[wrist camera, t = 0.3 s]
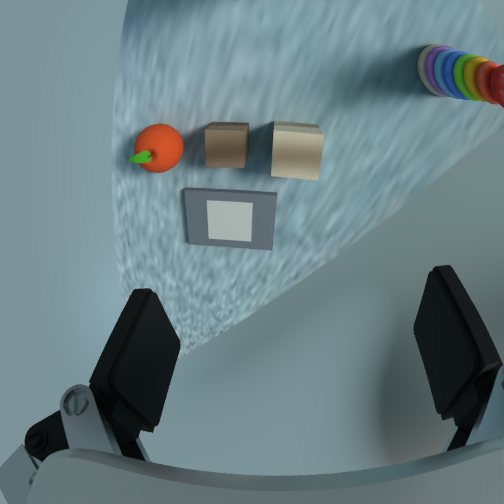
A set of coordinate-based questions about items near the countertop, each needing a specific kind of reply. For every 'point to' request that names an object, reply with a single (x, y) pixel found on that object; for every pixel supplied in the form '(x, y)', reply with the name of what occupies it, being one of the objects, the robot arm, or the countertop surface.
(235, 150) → the walnut cube
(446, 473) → the robot arm
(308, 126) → the maple cube
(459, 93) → the stacking toy
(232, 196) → the board
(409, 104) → the countertop surface
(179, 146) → the clementine
